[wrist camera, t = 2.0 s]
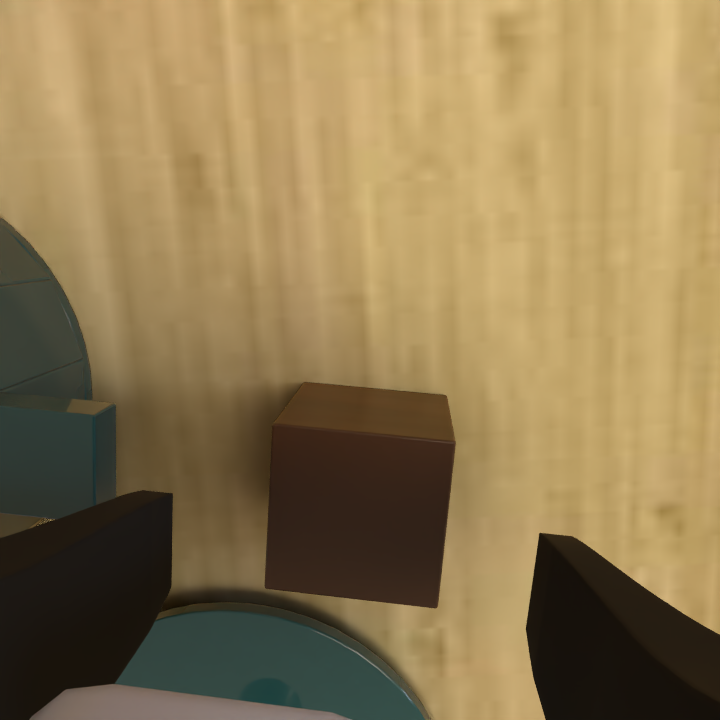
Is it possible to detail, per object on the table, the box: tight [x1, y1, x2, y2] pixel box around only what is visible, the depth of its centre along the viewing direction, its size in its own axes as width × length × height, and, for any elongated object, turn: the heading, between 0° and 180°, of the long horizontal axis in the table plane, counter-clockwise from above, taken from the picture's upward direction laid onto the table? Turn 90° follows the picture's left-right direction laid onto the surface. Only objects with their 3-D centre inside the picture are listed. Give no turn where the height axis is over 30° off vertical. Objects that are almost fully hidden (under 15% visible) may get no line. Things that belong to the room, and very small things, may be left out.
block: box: [265, 382, 456, 608], centre depth 16 cm, size 4×4×4 cm
